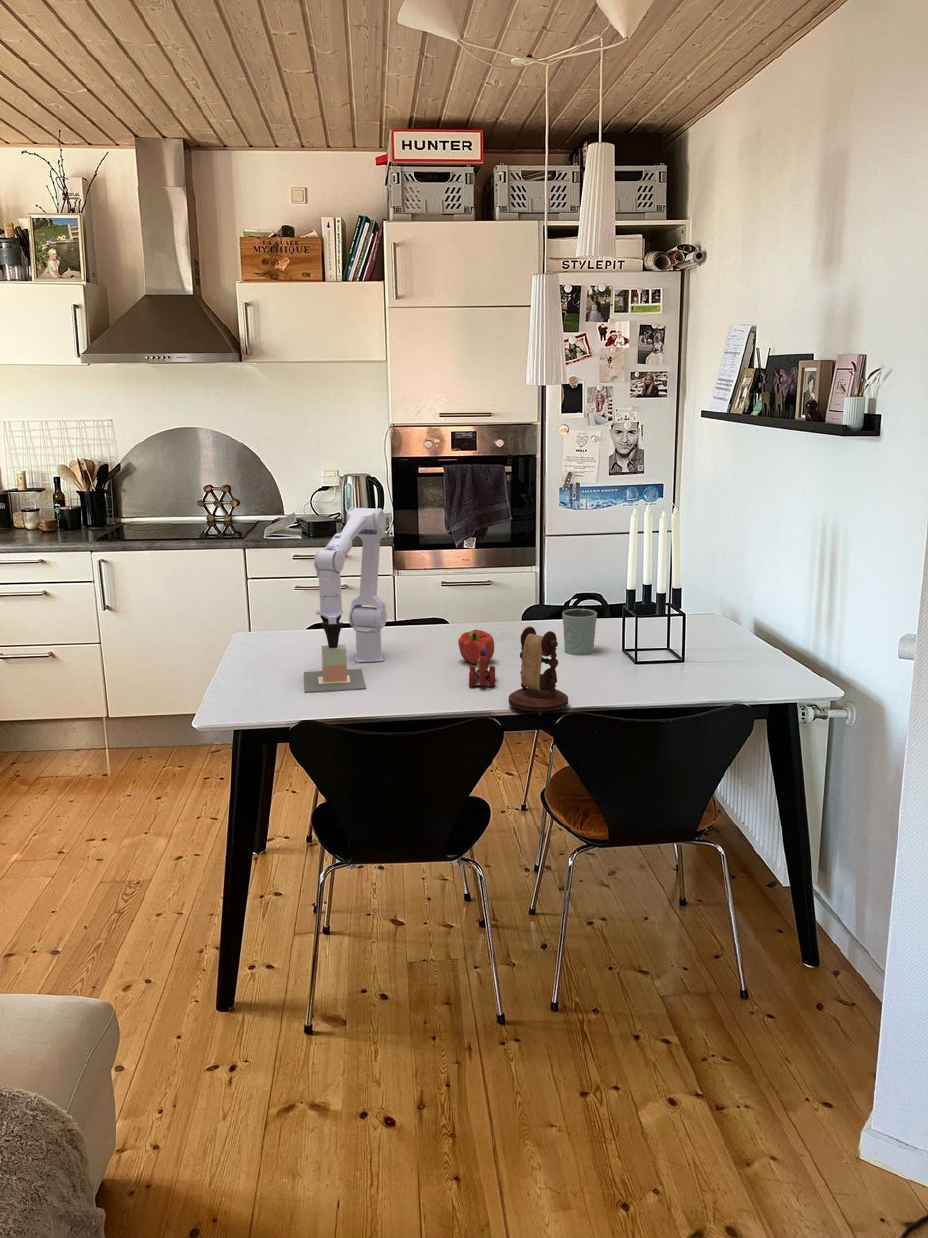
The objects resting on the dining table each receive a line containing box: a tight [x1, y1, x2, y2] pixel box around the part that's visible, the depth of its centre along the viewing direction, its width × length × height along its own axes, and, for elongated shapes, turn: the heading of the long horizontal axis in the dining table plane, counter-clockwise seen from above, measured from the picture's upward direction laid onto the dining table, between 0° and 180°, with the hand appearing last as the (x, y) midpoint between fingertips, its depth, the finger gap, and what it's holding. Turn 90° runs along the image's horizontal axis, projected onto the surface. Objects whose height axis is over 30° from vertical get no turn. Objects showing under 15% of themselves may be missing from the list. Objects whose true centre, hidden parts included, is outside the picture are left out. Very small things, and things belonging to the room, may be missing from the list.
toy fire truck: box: [468, 642, 496, 687], centre depth 265 cm, size 7×12×10 cm, turn 178°
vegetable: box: [457, 629, 495, 665], centre depth 285 cm, size 11×10×10 cm
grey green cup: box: [561, 608, 598, 656], centre depth 294 cm, size 10×10×12 cm
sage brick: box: [321, 644, 348, 666], centre depth 268 cm, size 4×6×4 cm
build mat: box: [303, 668, 367, 694], centre depth 270 cm, size 18×16×1 cm
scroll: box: [508, 626, 569, 717], centre depth 245 cm, size 15×15×20 cm
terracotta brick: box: [321, 663, 348, 682], centre depth 269 cm, size 4×6×4 cm
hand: (332, 644), depth 267 cm, fingers open, 7 cm apart
